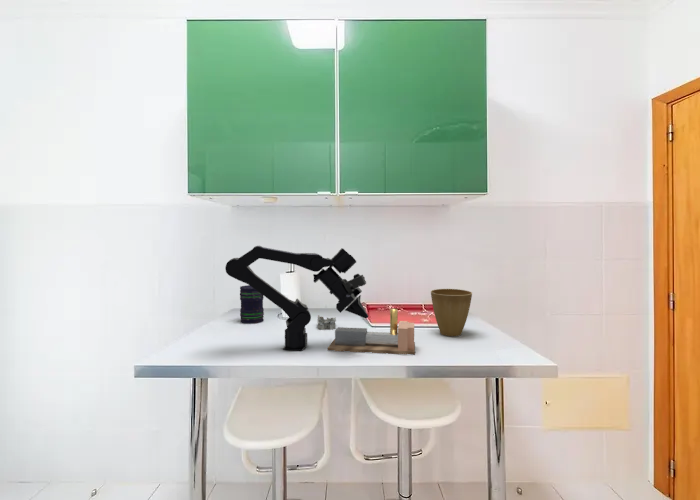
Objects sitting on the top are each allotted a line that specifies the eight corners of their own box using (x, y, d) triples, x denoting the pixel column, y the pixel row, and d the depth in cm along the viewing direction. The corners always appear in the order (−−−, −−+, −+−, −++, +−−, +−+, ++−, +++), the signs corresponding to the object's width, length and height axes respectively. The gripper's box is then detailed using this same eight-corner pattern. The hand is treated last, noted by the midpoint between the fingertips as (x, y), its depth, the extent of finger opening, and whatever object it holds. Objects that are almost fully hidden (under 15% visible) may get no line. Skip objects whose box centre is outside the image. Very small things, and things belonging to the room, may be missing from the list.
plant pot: (422, 331, 153) (423, 289, 152) (455, 328, 159) (455, 287, 158) (445, 341, 139) (445, 295, 139) (480, 337, 145) (480, 293, 144)
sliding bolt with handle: (361, 342, 131) (361, 309, 130) (362, 340, 134) (362, 307, 133) (404, 344, 128) (404, 310, 128) (404, 342, 131) (404, 308, 131)
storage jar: (235, 322, 169) (234, 287, 168) (251, 318, 178) (250, 284, 177) (253, 324, 164) (252, 288, 164) (268, 320, 173) (268, 285, 172)
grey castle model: (317, 324, 167) (317, 314, 166) (335, 324, 167) (335, 314, 167) (316, 330, 156) (316, 320, 156) (336, 330, 156) (336, 319, 156)
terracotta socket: (397, 350, 125) (398, 328, 125) (399, 341, 135) (399, 321, 135) (414, 351, 124) (414, 328, 124) (414, 342, 134) (414, 321, 134)
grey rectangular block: (335, 345, 131) (335, 330, 131) (337, 341, 136) (337, 327, 136) (365, 346, 130) (365, 331, 129) (367, 342, 134) (367, 328, 134)
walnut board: (327, 350, 128) (327, 347, 128) (334, 341, 139) (334, 338, 139) (414, 354, 124) (414, 351, 124) (414, 344, 135) (414, 342, 135)
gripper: (346, 268, 122) (382, 306, 121) (356, 264, 141) (387, 296, 139) (321, 293, 124) (356, 330, 123) (334, 285, 142) (364, 317, 141)
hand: (367, 317), depth 131 cm, fingers closed
